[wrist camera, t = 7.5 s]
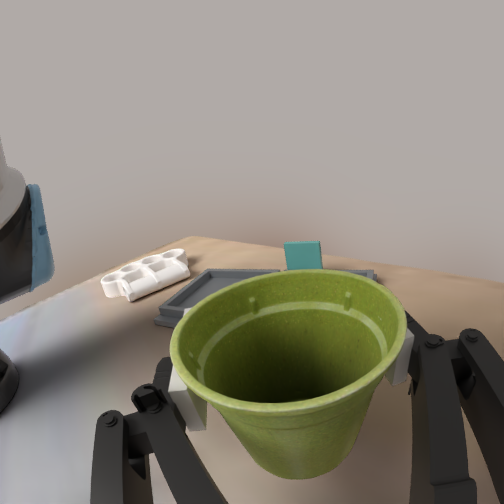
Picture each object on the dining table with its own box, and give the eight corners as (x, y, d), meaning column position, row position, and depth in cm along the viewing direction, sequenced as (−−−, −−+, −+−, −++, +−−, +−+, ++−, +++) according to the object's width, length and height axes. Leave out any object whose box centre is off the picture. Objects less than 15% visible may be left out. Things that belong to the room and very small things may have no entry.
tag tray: (155, 324, 37) (141, 286, 36) (212, 276, 50) (204, 244, 48) (367, 350, 25) (368, 298, 23) (376, 279, 38) (375, 239, 36)
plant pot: (220, 395, 19) (184, 287, 16) (352, 367, 19) (352, 254, 16) (222, 516, 10) (149, 426, 7) (406, 473, 10) (456, 354, 7)
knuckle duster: (115, 314, 43) (102, 289, 55) (207, 274, 52) (177, 259, 64) (107, 295, 42) (97, 274, 53) (203, 256, 51) (173, 244, 63)
